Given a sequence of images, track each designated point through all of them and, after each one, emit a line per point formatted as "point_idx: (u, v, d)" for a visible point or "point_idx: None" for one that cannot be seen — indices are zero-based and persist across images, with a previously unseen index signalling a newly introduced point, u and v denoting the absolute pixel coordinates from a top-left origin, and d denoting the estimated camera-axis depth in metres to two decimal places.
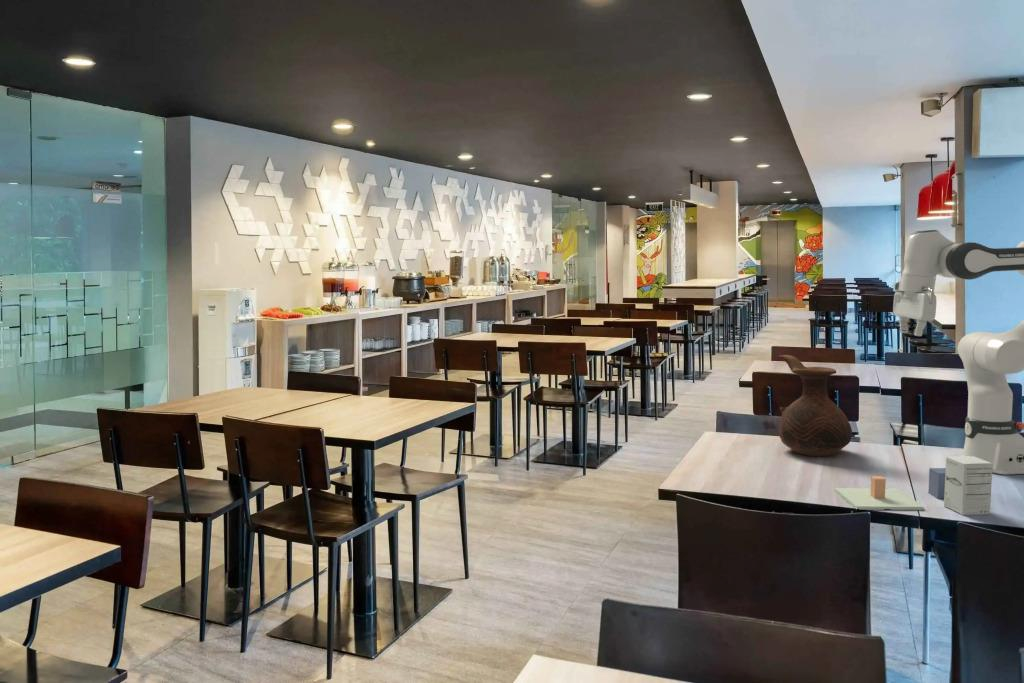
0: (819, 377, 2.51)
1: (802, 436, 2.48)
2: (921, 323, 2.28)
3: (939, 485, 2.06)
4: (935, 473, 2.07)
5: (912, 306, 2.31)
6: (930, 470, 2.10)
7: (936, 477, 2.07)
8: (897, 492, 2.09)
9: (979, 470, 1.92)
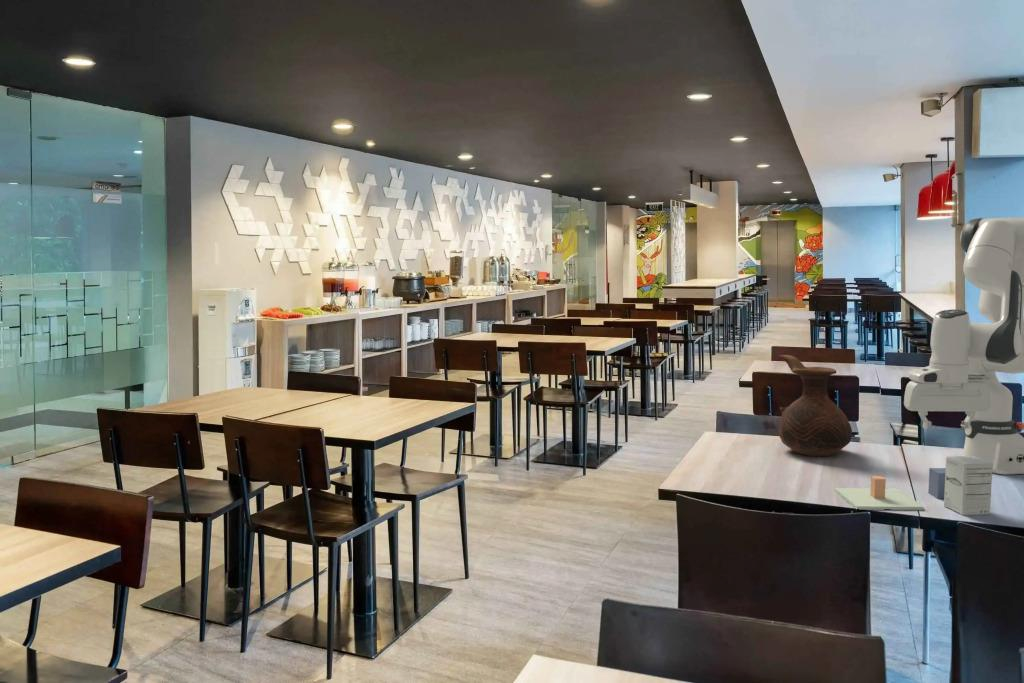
0: (819, 377, 2.51)
1: (803, 436, 2.48)
2: None
3: (939, 485, 2.06)
4: (935, 473, 2.07)
5: (962, 398, 2.04)
6: (930, 470, 2.10)
7: (936, 477, 2.07)
8: (897, 492, 2.09)
9: (979, 470, 1.92)
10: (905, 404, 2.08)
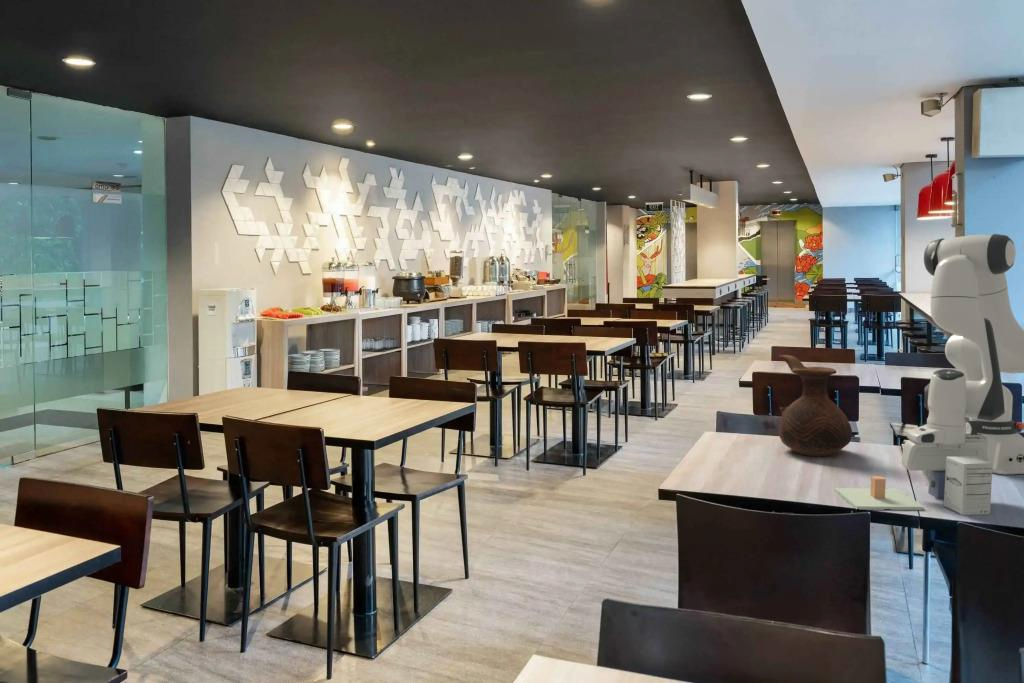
0: (819, 377, 2.51)
1: (803, 436, 2.48)
2: None
3: (939, 485, 2.06)
4: (935, 473, 2.07)
5: None
6: None
7: (936, 477, 2.07)
8: (897, 492, 2.09)
9: (979, 470, 1.92)
10: (903, 463, 2.09)
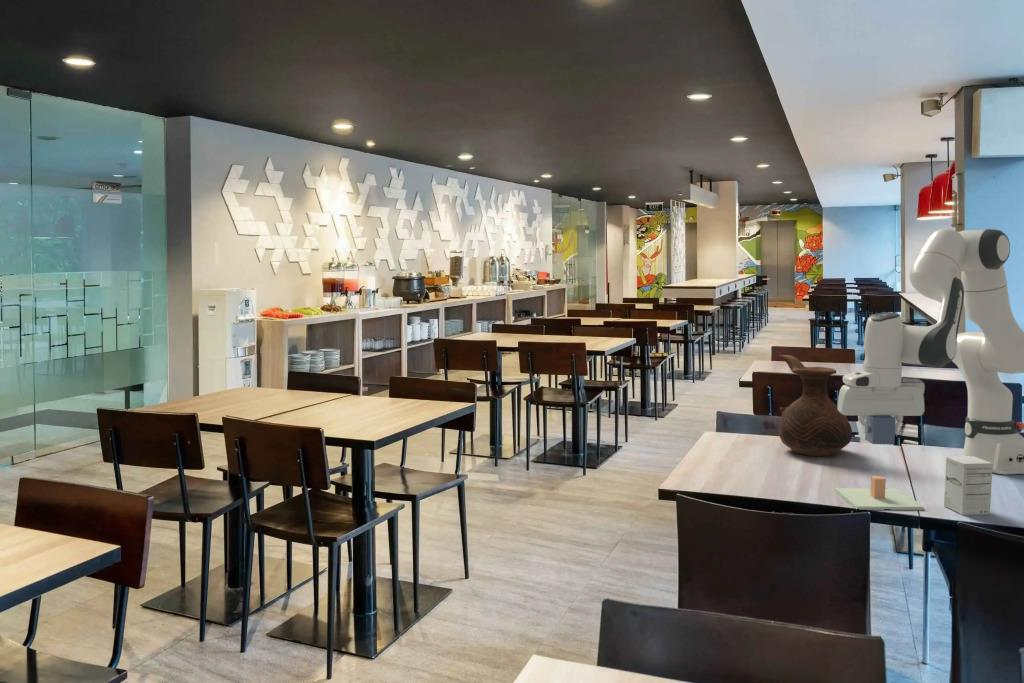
0: (819, 377, 2.51)
1: (803, 436, 2.48)
2: None
3: (874, 430, 2.01)
4: (871, 418, 2.03)
5: (895, 402, 2.01)
6: None
7: (872, 422, 2.02)
8: (897, 492, 2.09)
9: (979, 470, 1.92)
10: (838, 409, 2.05)
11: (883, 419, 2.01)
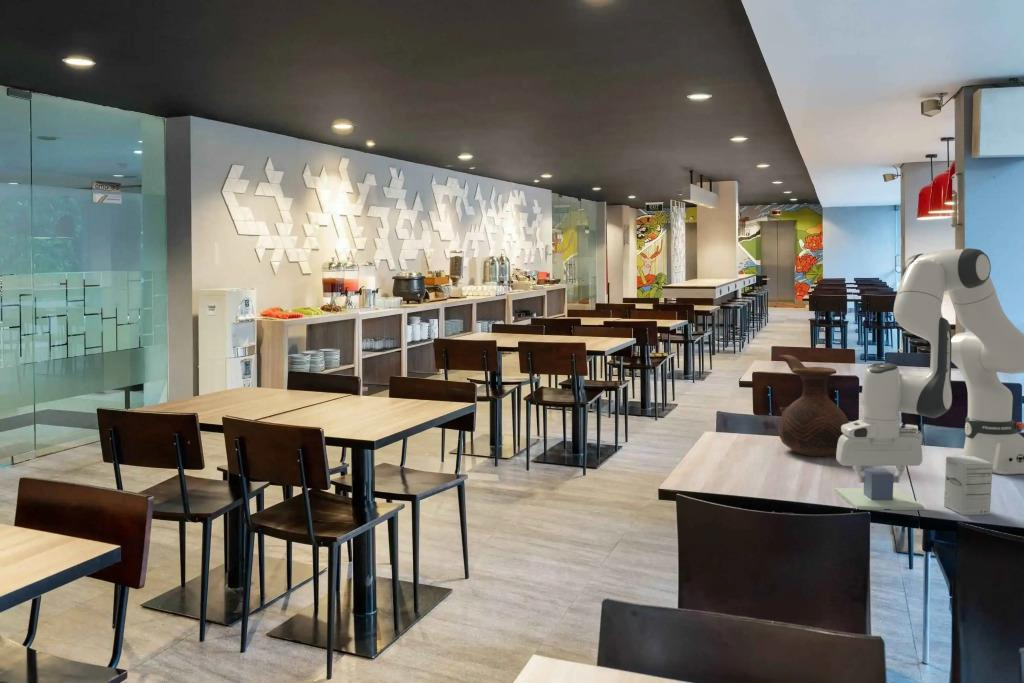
0: (819, 377, 2.51)
1: (803, 436, 2.48)
2: None
3: (873, 486, 2.03)
4: (869, 474, 2.04)
5: (893, 452, 2.03)
6: (865, 471, 2.07)
7: (870, 478, 2.04)
8: (897, 492, 2.09)
9: (979, 470, 1.92)
10: (837, 458, 2.06)
11: (881, 476, 2.02)
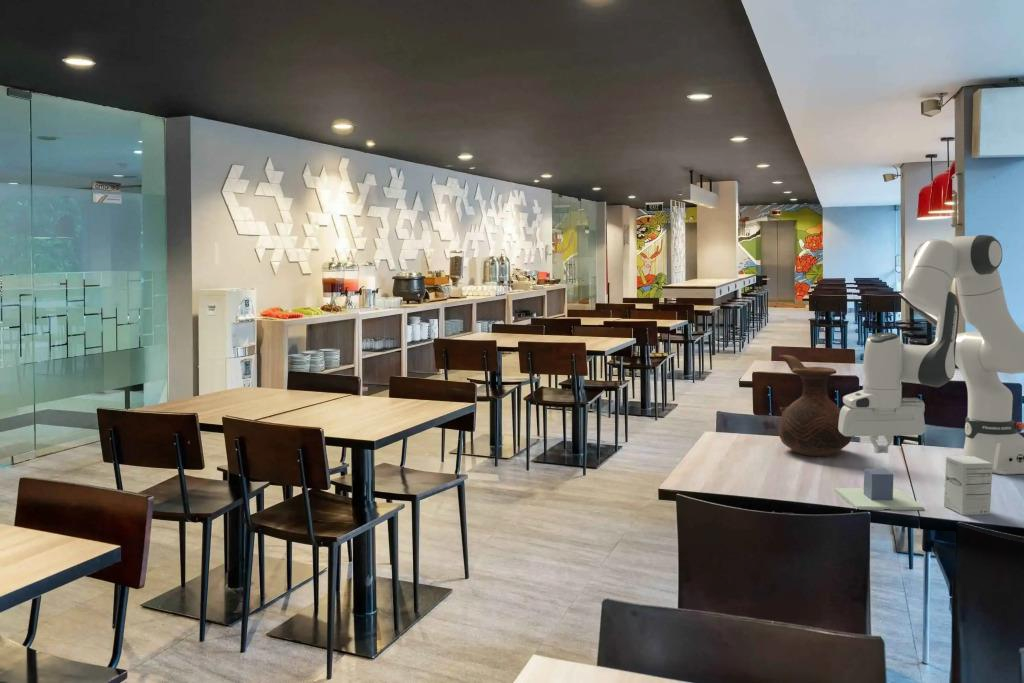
0: (819, 377, 2.51)
1: (803, 436, 2.48)
2: None
3: (873, 486, 2.03)
4: (869, 474, 2.04)
5: (896, 422, 2.02)
6: (865, 471, 2.07)
7: (870, 478, 2.04)
8: (897, 492, 2.09)
9: (979, 470, 1.92)
10: (839, 429, 2.05)
11: (881, 476, 2.02)
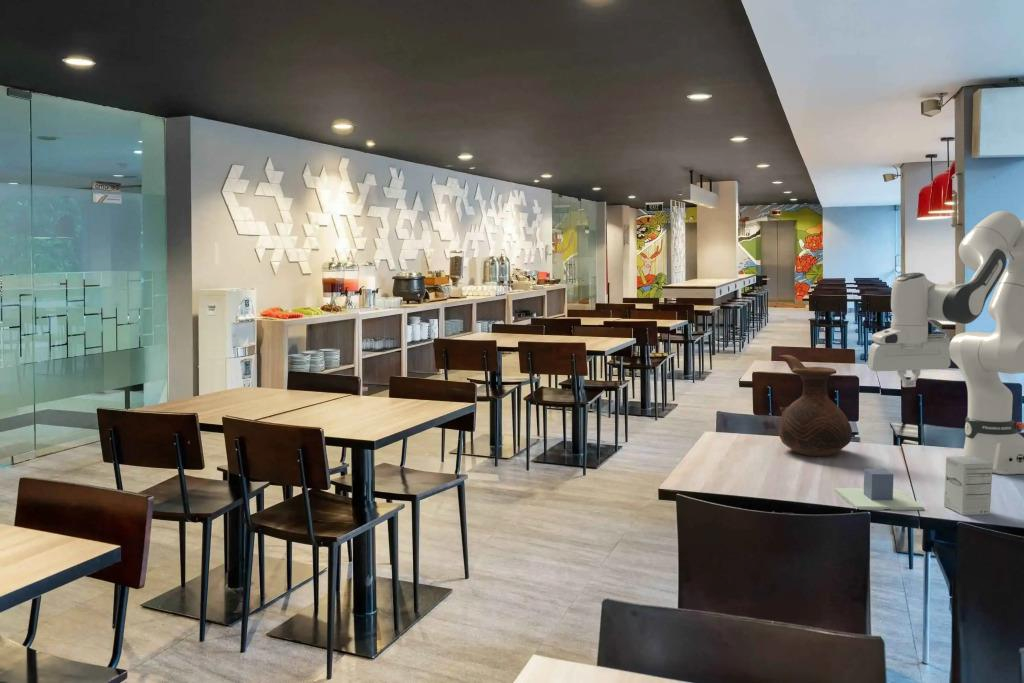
0: (819, 377, 2.51)
1: (803, 436, 2.48)
2: None
3: (873, 486, 2.03)
4: (869, 474, 2.04)
5: (923, 357, 2.14)
6: (865, 471, 2.07)
7: (870, 478, 2.04)
8: (897, 492, 2.09)
9: (979, 470, 1.92)
10: (869, 366, 2.17)
11: (881, 476, 2.02)
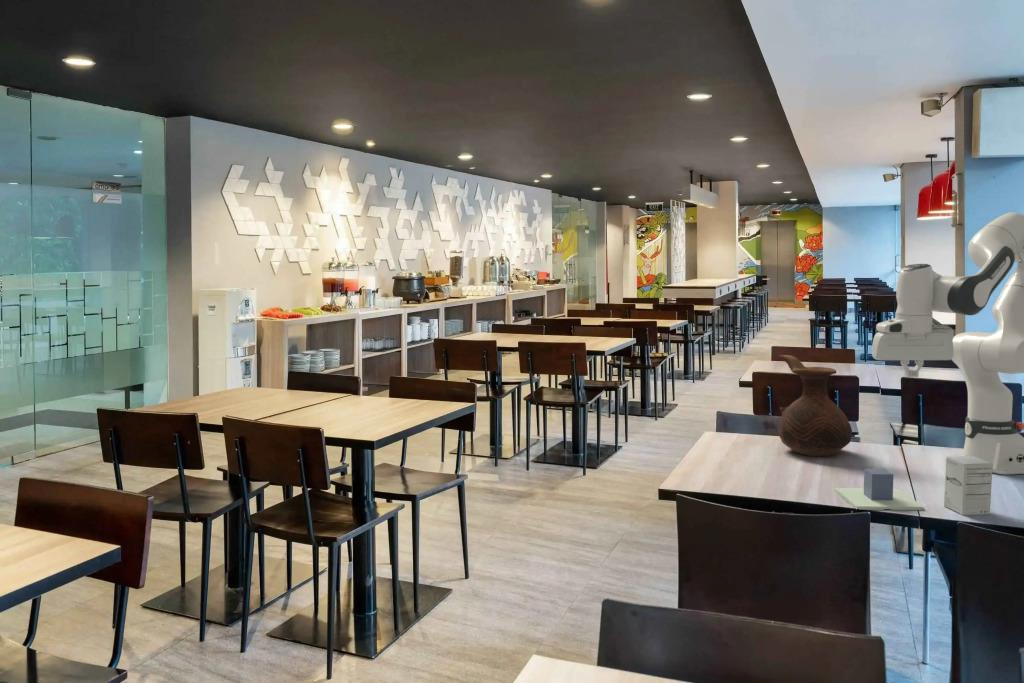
0: (819, 377, 2.51)
1: (803, 436, 2.48)
2: None
3: (873, 486, 2.03)
4: (869, 474, 2.04)
5: (926, 347, 2.15)
6: (865, 471, 2.07)
7: (870, 478, 2.04)
8: (897, 492, 2.09)
9: (979, 470, 1.92)
10: (872, 354, 2.19)
11: (881, 476, 2.02)
